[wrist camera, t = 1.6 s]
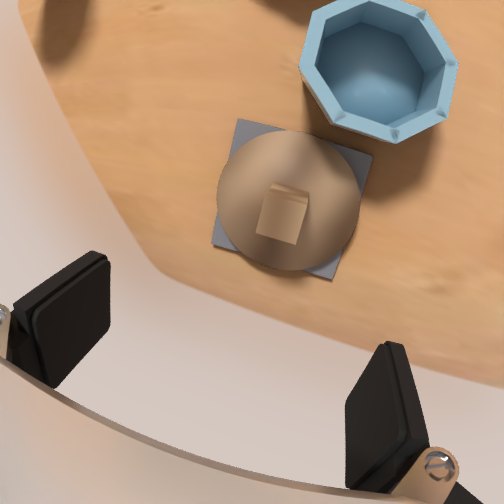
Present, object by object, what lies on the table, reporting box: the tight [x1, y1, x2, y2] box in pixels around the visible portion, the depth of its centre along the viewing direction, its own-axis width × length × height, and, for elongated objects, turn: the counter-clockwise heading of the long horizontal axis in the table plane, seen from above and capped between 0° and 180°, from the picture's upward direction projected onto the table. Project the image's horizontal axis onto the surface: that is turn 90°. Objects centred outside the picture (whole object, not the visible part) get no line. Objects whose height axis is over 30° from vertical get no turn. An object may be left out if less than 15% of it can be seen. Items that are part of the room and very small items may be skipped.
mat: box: [211, 119, 373, 279], centre depth 28 cm, size 12×12×1 cm
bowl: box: [298, 0, 459, 144], centre depth 20 cm, size 11×11×6 cm
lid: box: [217, 130, 360, 271], centre depth 25 cm, size 12×12×6 cm
